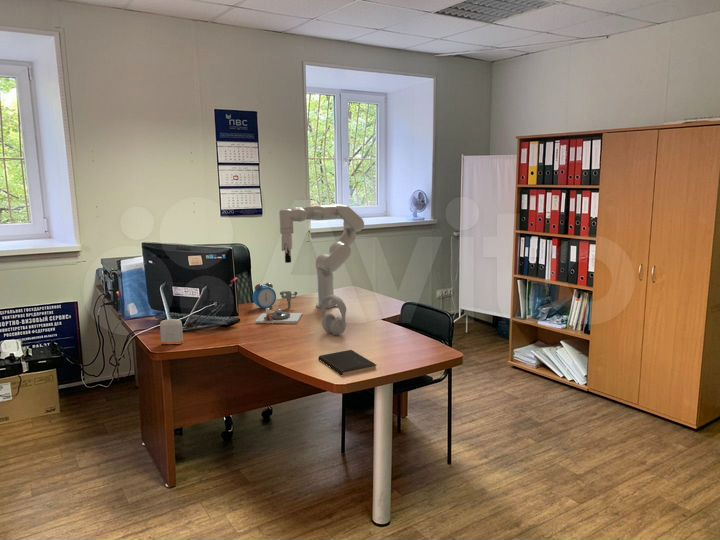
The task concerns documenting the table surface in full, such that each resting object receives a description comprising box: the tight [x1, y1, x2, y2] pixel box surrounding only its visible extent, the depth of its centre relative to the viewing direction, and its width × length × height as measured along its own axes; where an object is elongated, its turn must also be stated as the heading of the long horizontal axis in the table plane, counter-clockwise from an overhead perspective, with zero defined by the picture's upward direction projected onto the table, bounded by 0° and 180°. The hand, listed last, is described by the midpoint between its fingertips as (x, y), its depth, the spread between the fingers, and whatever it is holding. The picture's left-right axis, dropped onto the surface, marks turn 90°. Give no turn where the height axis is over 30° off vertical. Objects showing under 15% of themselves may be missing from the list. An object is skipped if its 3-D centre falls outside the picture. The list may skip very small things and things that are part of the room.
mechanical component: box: [279, 290, 298, 309], centre depth 332 cm, size 3×10×10 cm, turn 89°
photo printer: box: [159, 318, 184, 343], centre depth 265 cm, size 10×4×12 cm, turn 94°
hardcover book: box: [318, 349, 378, 376], centre depth 233 cm, size 16×23×2 cm
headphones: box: [320, 294, 347, 336], centre depth 275 cm, size 18×8×20 cm, turn 39°
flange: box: [264, 307, 291, 320], centre depth 304 cm, size 15×12×6 cm
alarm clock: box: [252, 282, 277, 310], centre depth 333 cm, size 13×6×15 cm, turn 125°
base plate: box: [254, 312, 303, 325], centre depth 306 cm, size 23×17×4 cm
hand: (288, 262), depth 320 cm, fingers closed
